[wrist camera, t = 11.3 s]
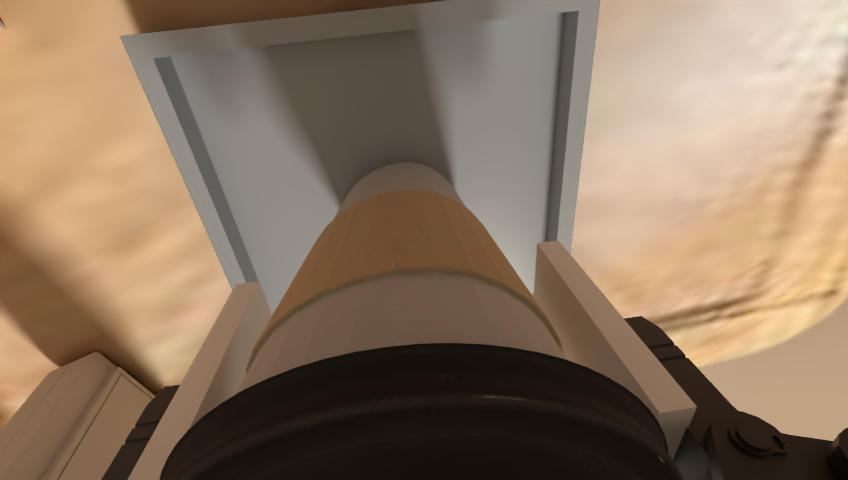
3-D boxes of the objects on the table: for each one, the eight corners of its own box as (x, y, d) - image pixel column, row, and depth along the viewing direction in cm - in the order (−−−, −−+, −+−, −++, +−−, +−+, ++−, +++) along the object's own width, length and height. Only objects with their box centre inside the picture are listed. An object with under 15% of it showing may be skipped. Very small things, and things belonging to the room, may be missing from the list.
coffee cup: (271, 235, 19) (-13, 732, 6) (383, 72, 15) (320, 363, 2) (421, 319, 22) (460, 748, 9) (539, 200, 19) (873, 611, 6)
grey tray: (147, 34, 15) (120, 36, 13) (580, -13, 16) (602, -17, 14) (276, 351, 24) (269, 374, 22) (549, 312, 24) (560, 331, 23)
